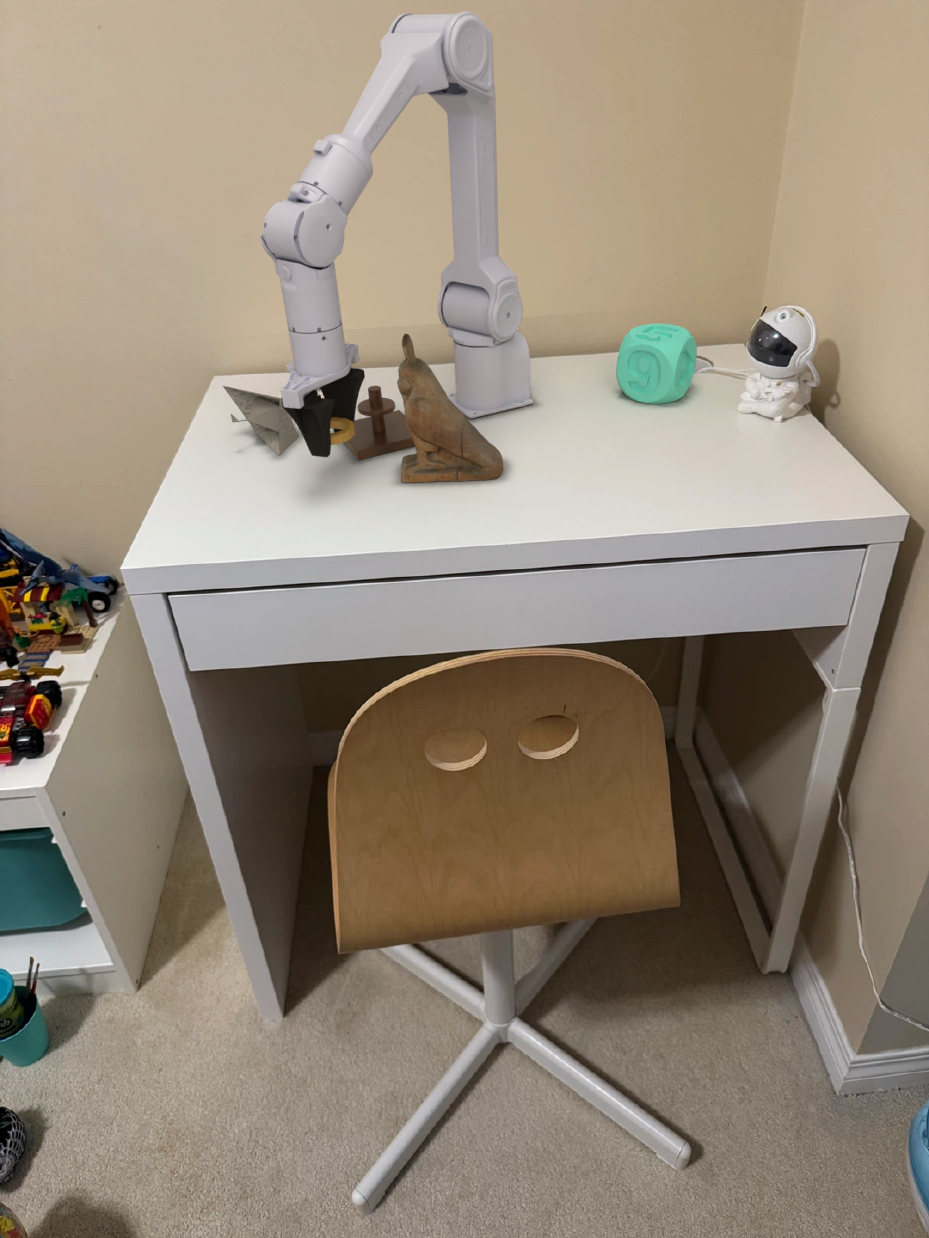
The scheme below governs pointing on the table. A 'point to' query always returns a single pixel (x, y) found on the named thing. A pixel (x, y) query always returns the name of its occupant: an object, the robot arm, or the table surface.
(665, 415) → the table surface
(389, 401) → the peg stand
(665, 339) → the decorative dice
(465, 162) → the robot arm
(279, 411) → the paper boat
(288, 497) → the table surface
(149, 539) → the table surface
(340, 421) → the brass ring
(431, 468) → the worn brown figurine
